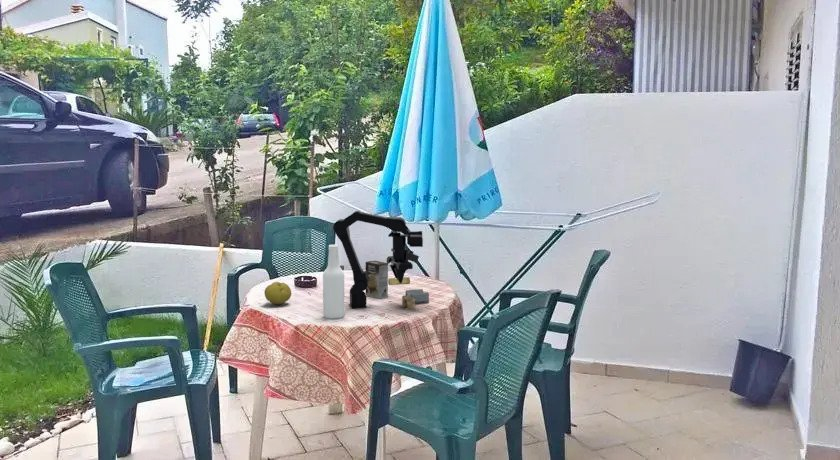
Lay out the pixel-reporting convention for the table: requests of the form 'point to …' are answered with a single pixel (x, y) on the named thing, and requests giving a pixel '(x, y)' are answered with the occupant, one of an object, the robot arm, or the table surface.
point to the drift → (404, 305)
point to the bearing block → (409, 302)
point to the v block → (418, 296)
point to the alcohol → (333, 286)
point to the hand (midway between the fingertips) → (399, 282)
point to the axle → (395, 281)
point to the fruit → (278, 293)
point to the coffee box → (377, 279)
